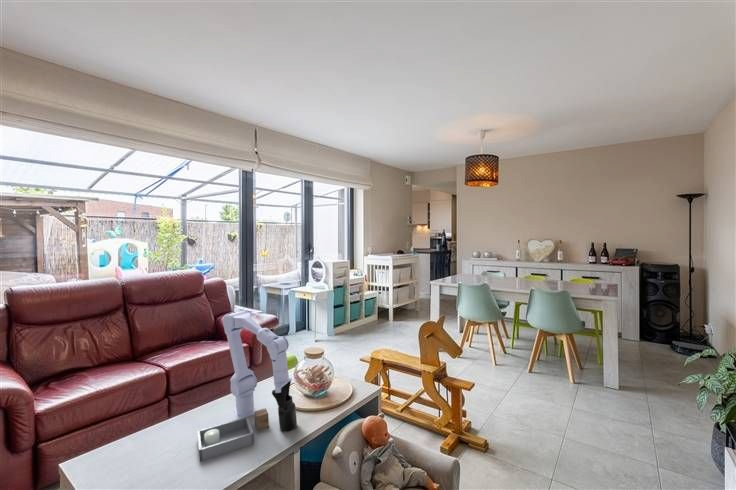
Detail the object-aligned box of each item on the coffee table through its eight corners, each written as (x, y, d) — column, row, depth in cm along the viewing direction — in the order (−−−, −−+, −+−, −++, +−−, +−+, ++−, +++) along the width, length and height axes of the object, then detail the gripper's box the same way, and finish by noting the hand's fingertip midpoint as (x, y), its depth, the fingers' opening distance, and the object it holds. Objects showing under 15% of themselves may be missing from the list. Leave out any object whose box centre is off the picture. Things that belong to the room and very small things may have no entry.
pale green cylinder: (204, 444, 125) (203, 431, 125) (219, 440, 128) (218, 427, 128) (205, 452, 121) (204, 439, 121) (220, 447, 124) (219, 434, 123)
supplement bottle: (291, 419, 141) (289, 391, 140) (300, 426, 136) (298, 397, 135) (276, 427, 136) (274, 398, 135) (285, 434, 131) (283, 404, 130)
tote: (197, 442, 128) (197, 430, 128) (247, 427, 137) (247, 416, 137) (199, 463, 117) (199, 450, 116) (254, 445, 125) (253, 433, 125)
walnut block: (255, 425, 138) (254, 411, 138) (266, 422, 140) (265, 408, 140) (257, 431, 134) (256, 416, 134) (268, 427, 136) (268, 413, 136)
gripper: (287, 374, 127) (290, 410, 127) (293, 361, 141) (297, 393, 142) (268, 377, 127) (271, 413, 127) (276, 363, 141) (280, 395, 141)
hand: (284, 403), depth 134 cm, fingers open, 7 cm apart
